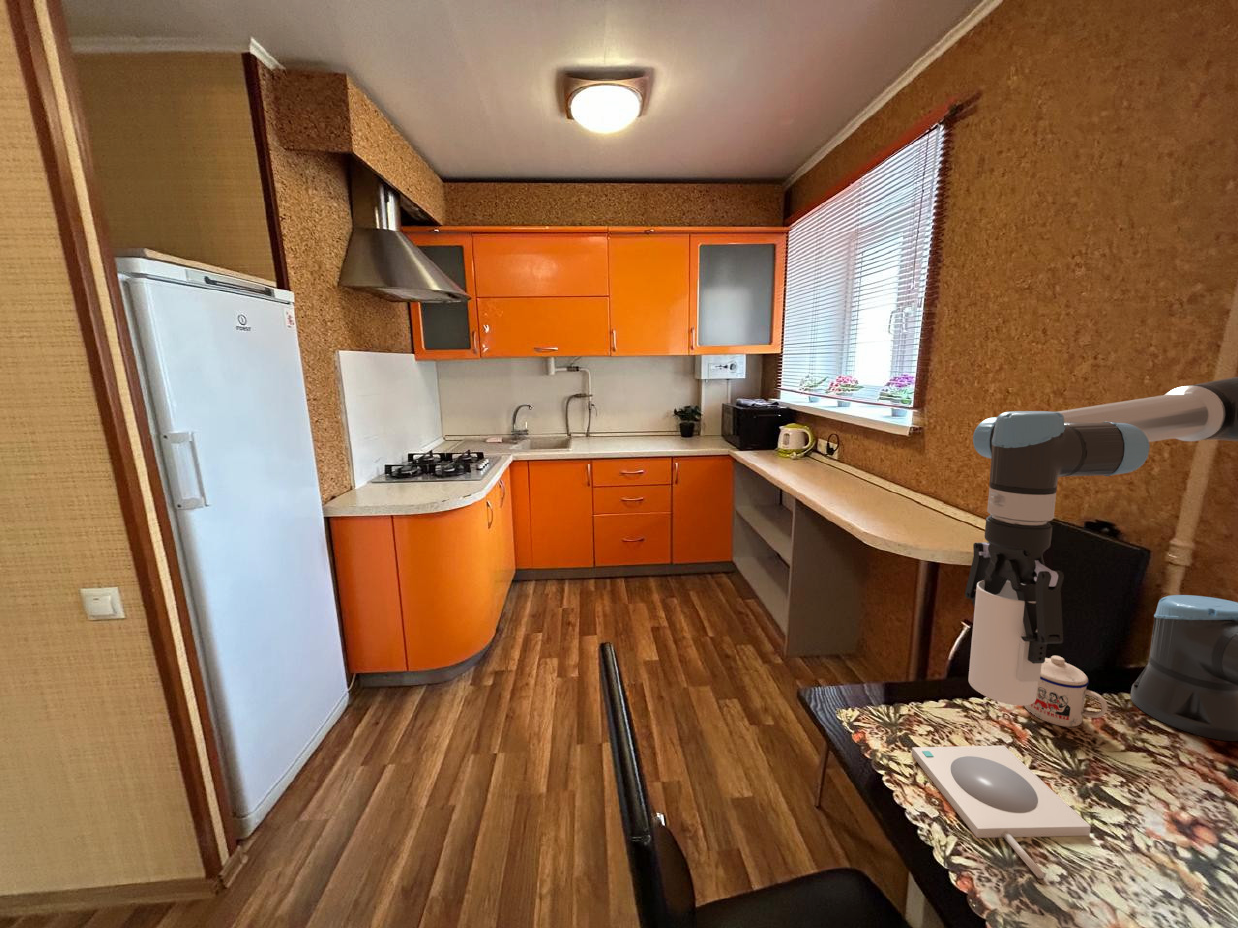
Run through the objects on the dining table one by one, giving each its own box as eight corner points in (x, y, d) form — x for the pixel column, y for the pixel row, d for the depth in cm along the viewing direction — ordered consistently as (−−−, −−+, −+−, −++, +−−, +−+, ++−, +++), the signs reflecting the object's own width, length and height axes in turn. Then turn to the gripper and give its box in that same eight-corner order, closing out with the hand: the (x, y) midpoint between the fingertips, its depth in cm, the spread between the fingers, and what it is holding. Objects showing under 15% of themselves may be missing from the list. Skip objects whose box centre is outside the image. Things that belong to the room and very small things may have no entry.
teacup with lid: (1013, 708, 97) (1019, 654, 95) (1032, 692, 102) (1037, 640, 100) (1095, 744, 87) (1103, 684, 85) (1111, 725, 92) (1119, 667, 90)
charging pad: (1003, 752, 86) (1004, 744, 86) (1132, 876, 64) (1134, 865, 64) (911, 754, 86) (912, 746, 86) (1009, 879, 64) (1010, 868, 64)
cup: (1049, 708, 70) (1061, 603, 68) (984, 702, 72) (994, 599, 70) (1016, 675, 78) (1025, 580, 76) (958, 671, 80) (966, 577, 78)
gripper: (945, 502, 81) (935, 629, 85) (1055, 541, 61) (1036, 707, 64) (990, 501, 81) (979, 628, 85) (1116, 539, 61) (1094, 706, 64)
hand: (1004, 662), depth 75 cm, fingers closed on cup, 8 cm apart
